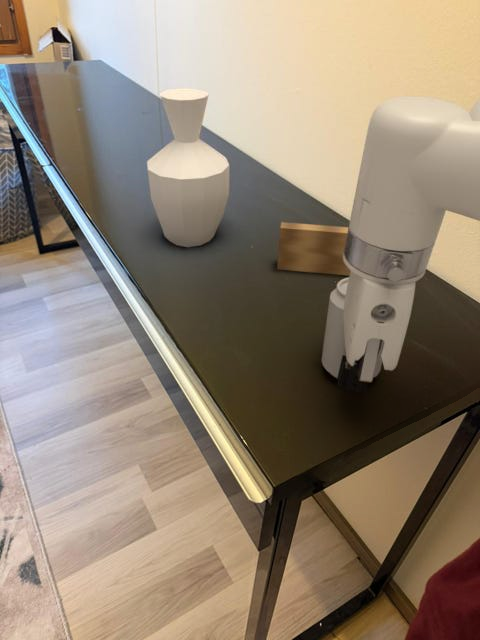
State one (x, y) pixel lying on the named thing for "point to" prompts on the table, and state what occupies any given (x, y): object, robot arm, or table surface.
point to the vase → (188, 174)
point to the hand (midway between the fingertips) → (351, 385)
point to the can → (338, 332)
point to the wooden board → (312, 248)
